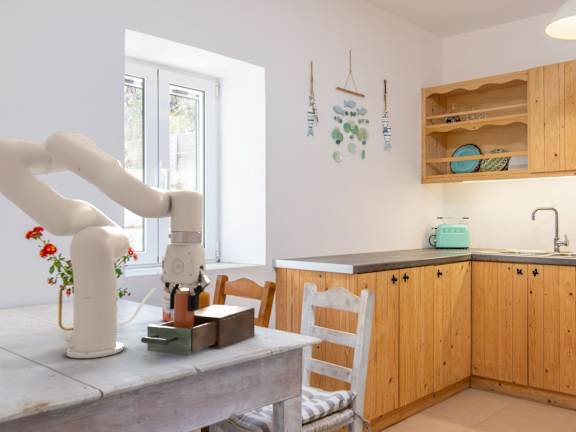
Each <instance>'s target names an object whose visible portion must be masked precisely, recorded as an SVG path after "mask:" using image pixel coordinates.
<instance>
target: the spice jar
mask: <svg viewBox="0 0 576 432" xmlns="http://www.w3.org/2000/svg"><path fill="white" fill-rule="evenodd" d="M190 295H191V294H190V289H189V288H178V289H176V293H174V319H173V327H177V328H187V329H190V328H192V327H194V313H195V311H191V312H190V311H188V297H189V296H190Z"/></svg>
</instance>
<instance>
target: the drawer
mask: <svg viewBox="0 0 576 432" xmlns="http://www.w3.org/2000/svg"><path fill="white" fill-rule="evenodd" d="M217 321H218V320H207V319H196V318H194V327H192V328H190V329H187V328H177V327H173V321H170V322H167V321H165V322H162V323H158V324H156V325H155V324H149V325H147V326H146V327H147V328H146V329H147V336H142V337H141V339H140V342H141V343H142V344H146V345H147V352H153V353H159V354H168V355H175V356H176V355H177V356H183V357H189V356H191V355H192V353H193V352H196V351H199V350H203V349H205V348H209V347H208V346H210V345H213V344H216V343H217Z"/></svg>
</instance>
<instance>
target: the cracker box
mask: <svg viewBox="0 0 576 432" xmlns="http://www.w3.org/2000/svg"><path fill="white" fill-rule="evenodd" d="M164 259H165V256H162V257H161V268H162V269H161V277H162V276H163V269H164ZM161 282H162V281H161ZM194 283H195V282H194ZM175 285H176V284H175ZM161 287H162V289H161V290H162V295H161V296H162V320H163V321H164V322H170V321H173V319H174V309H170V293H168V289H167V287H166V286H165V284H164V283H163V282H162V285H161ZM194 287H195V285H194ZM180 288H189V284H181V286H180Z"/></svg>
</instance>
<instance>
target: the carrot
mask: <svg viewBox="0 0 576 432" xmlns="http://www.w3.org/2000/svg"><path fill="white" fill-rule="evenodd" d="M200 284H201V283H200ZM208 306H211V294H210V292H209V291H205V289H204V290H203V291H202V293H201V294H200V295H199V309H200V308H204V307H208Z"/></svg>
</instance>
